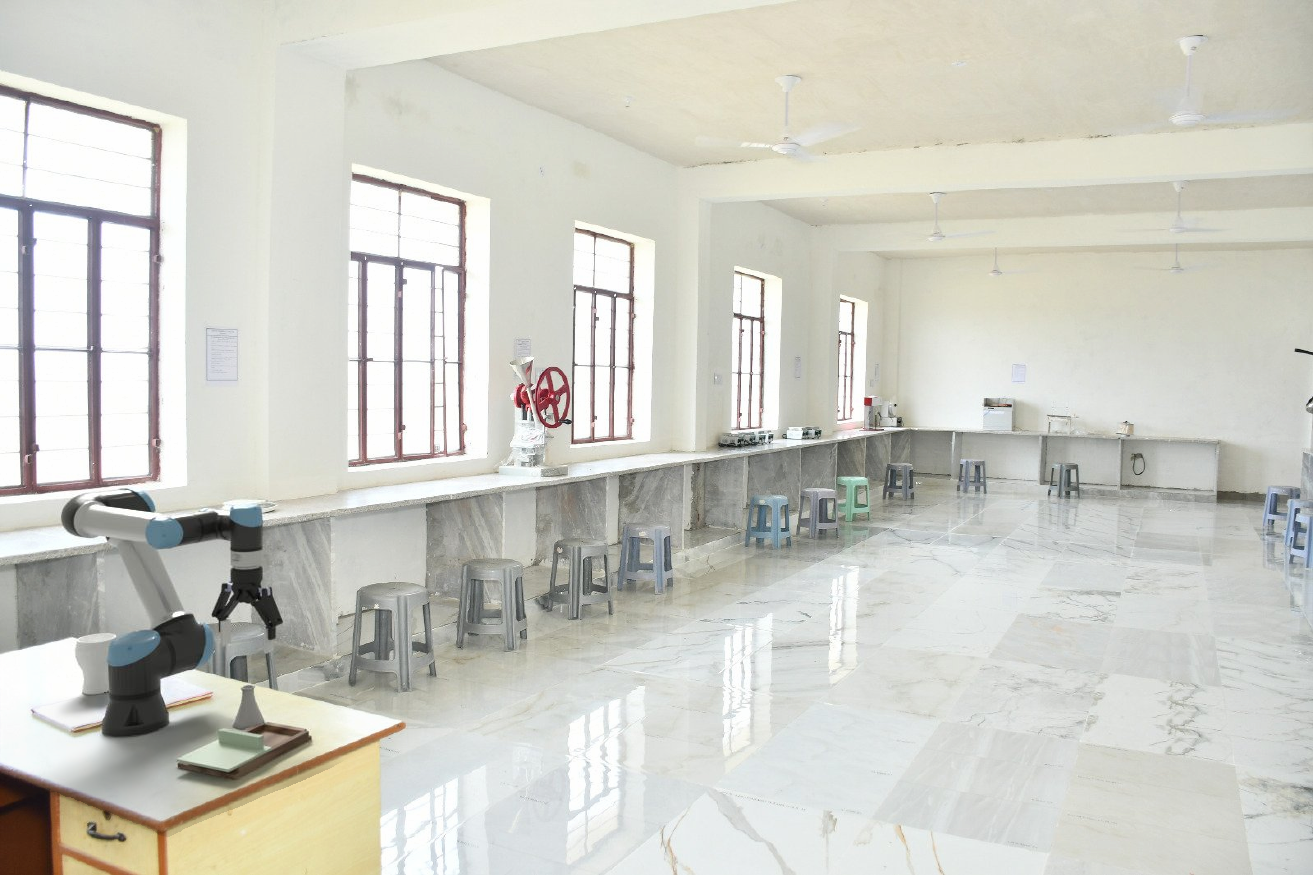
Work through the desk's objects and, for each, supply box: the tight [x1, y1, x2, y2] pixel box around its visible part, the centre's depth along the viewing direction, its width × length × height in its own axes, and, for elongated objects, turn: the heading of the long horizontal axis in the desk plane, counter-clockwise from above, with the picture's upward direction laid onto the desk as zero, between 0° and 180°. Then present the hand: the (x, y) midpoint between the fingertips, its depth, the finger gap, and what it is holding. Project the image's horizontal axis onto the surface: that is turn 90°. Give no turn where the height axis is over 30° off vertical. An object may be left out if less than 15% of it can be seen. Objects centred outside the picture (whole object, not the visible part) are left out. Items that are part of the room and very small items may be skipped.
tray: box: [177, 721, 313, 780], centre depth 234 cm, size 17×25×2 cm
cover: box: [176, 727, 272, 772], centre depth 226 cm, size 15×14×4 cm
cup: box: [74, 632, 118, 695], centre depth 275 cm, size 11×11×15 cm
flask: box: [232, 684, 265, 730], centre depth 251 cm, size 7×7×10 cm
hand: (247, 648), depth 249 cm, fingers open, 13 cm apart
